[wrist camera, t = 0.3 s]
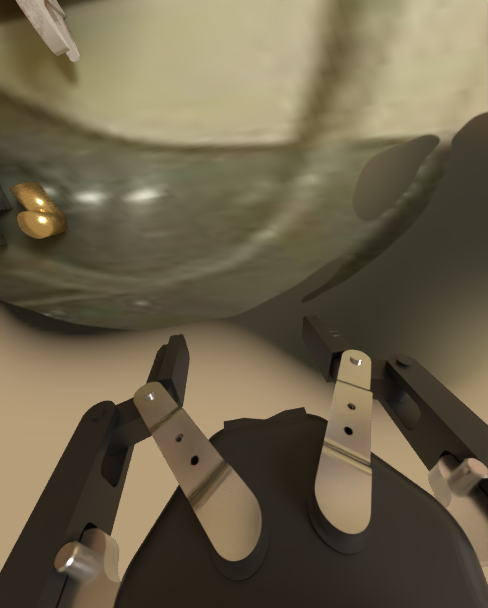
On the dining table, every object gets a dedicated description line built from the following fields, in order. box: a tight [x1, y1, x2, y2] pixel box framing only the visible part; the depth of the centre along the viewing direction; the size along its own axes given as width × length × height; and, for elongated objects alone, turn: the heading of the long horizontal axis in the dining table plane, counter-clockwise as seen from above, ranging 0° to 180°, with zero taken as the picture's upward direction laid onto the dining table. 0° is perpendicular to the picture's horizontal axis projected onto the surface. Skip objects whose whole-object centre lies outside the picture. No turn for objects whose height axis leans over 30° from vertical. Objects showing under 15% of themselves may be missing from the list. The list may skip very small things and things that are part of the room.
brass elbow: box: [10, 182, 67, 239], centre depth 30 cm, size 7×4×6 cm, turn 22°
